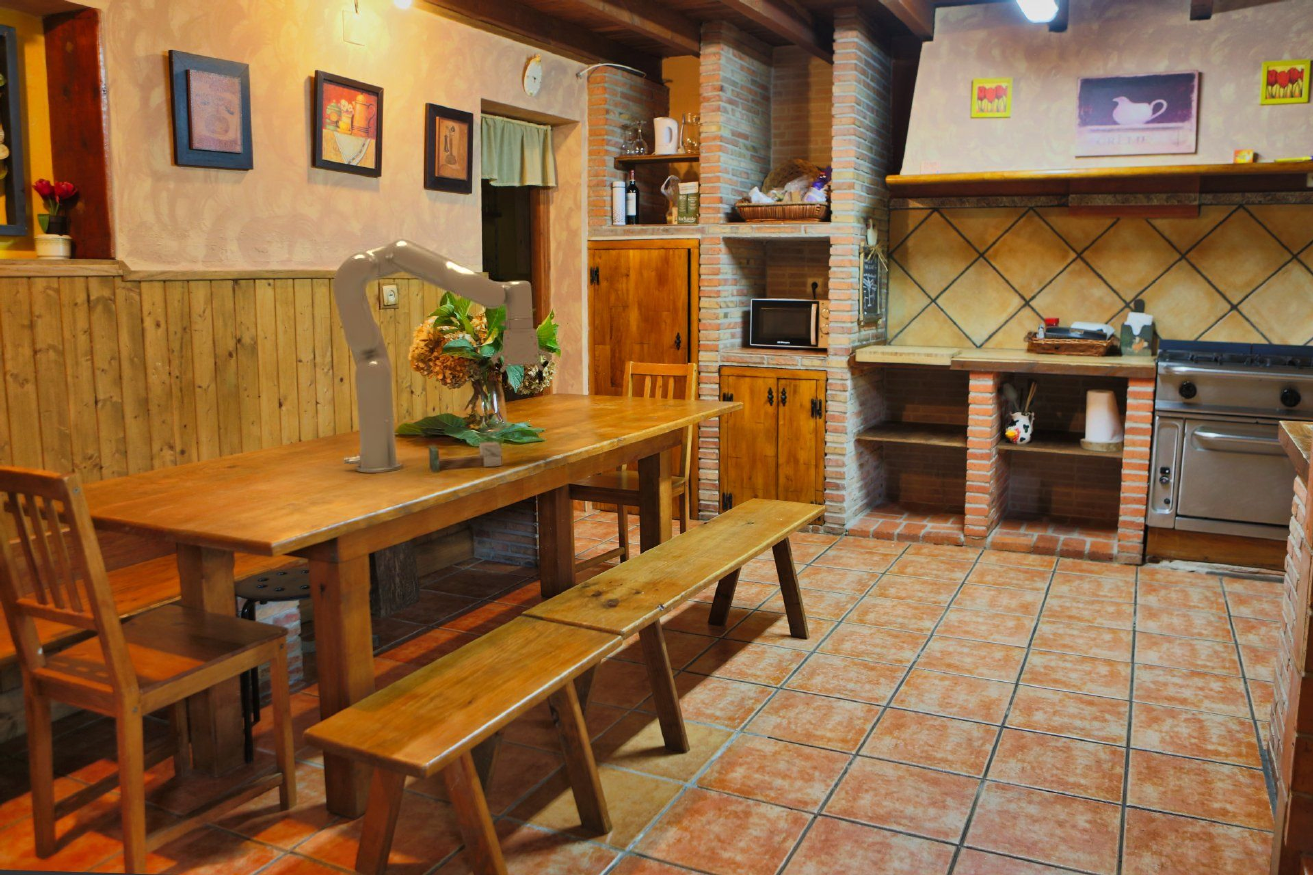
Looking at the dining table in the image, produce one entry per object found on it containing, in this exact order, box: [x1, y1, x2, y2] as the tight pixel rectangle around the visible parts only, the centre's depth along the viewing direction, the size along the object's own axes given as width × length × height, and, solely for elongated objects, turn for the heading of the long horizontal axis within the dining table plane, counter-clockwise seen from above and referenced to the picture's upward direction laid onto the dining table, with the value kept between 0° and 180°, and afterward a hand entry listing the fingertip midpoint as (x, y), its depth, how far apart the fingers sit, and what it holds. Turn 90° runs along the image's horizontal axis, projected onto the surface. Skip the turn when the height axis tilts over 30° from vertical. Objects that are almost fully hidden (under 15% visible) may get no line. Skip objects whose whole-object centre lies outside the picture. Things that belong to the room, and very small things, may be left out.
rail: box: [428, 445, 503, 473], centre depth 292 cm, size 20×8×6 cm, turn 110°
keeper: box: [478, 440, 503, 468], centre depth 294 cm, size 5×7×6 cm
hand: (522, 384), depth 297 cm, fingers open, 9 cm apart
